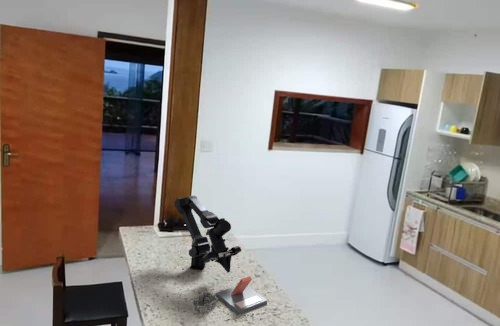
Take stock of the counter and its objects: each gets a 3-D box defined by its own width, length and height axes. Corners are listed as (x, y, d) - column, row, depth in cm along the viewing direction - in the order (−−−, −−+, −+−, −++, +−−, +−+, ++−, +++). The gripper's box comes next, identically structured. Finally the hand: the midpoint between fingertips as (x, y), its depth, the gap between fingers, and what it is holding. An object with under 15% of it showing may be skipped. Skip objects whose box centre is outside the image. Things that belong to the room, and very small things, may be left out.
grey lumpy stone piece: (203, 315, 160) (203, 306, 159) (188, 308, 164) (189, 299, 163) (219, 304, 169) (219, 295, 168) (205, 297, 173) (206, 289, 172)
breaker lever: (230, 293, 175) (240, 279, 169) (241, 289, 178) (251, 275, 173) (232, 296, 174) (242, 282, 168) (243, 292, 178) (252, 279, 172)
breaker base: (215, 296, 175) (216, 292, 174) (243, 286, 185) (243, 283, 185) (238, 314, 163) (239, 310, 163) (266, 303, 174) (267, 299, 173)
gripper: (224, 243, 197) (235, 273, 191) (192, 250, 185) (203, 283, 179) (236, 234, 189) (248, 265, 184) (203, 241, 177) (215, 274, 172)
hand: (228, 272), depth 180 cm, fingers closed
